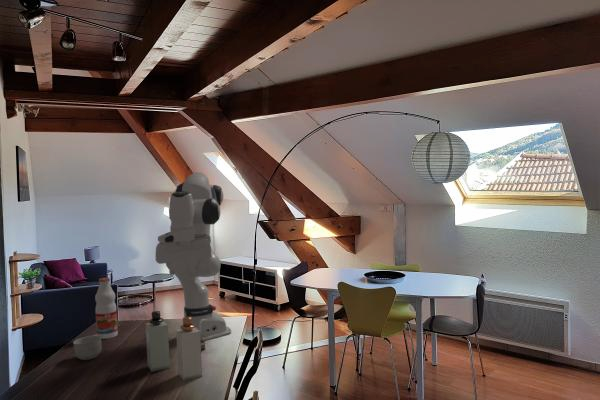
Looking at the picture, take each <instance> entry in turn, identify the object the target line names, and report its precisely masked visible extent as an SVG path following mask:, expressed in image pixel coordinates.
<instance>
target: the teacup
mask: <svg viewBox="0 0 600 400" xmlns="http://www.w3.org/2000/svg"><path fill="white" fill-rule="evenodd" d="M72 344H73V349H74V350H73V351H74V355H75V357H76V358H77V359H79V360H82V361H88V360H89V361H90V360H93V359H95V358H96V357H98V356H99V355H100V354H101V352H102V347H103V346H102V339H101V336H97V334H92V335H87V336H84V337H80V338H77V339H75V340H73V342H72Z"/></svg>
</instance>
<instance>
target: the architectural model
mask: <svg viewBox="0 0 600 400" xmlns="http://www.w3.org/2000/svg"><path fill="white" fill-rule="evenodd" d="M200 342H201V350H204V351H205V350H206V344H207V343H206V340H205V339H203V333H200Z"/></svg>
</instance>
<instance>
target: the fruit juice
mask: <svg viewBox="0 0 600 400" xmlns="http://www.w3.org/2000/svg"><path fill="white" fill-rule="evenodd" d="M110 280H111V278H110V277H102V278H99V279H98V283H99V286H98V288H97V292H96V294H95V296H94V297H95V298H94V300H95V303H96V305H95V311H94V312H95V325H96V327H95V328H96V335H97V336H101V340H108V339H113V338H114V337H117V336H118V334H119V331H118V329H119V328H118V316H117V315H118V314H117V309H118V308H117V304H116V301H115V300H116V293H115V292H114V290H113V288H112V286H111V283H110Z"/></svg>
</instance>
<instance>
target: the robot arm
mask: <svg viewBox="0 0 600 400" xmlns="http://www.w3.org/2000/svg"><path fill="white" fill-rule="evenodd" d="M223 200H224V192H223V188H222V187H221V186H220V185H217V184H213V185H212V184H210V182H209V178H208V177H207V175H206V174H205V173H203V172H198V171H197V172H196V171H195V172H193V173H191V174H190V175H189V176H188V177H187V178H186V179H185V181H183V182H182V183H180V184H178V185H177V186H176V187H175V190H174V192H173V193H171V194H170V198H169V207H168V214H169V215H168V216H169V220H170V227H169V228H170V229H169V230H170V231H169V232H166V233H163V234H161V235H158V236H157V242H158V243H156V244H157V245H156V247H155V262H156V263H157V264H159V265H161V264H163V265H164V264H165V267H167V269H168V271H169V275H170V276H175V277H176V278H177V279H178V282H179V283H180V285H181V287H182V291H183V297H184V298H183V299H184V306H183V318H184V317H192V324H194V325H195V328H197V329H198V330H199V331H200V333H203V339H205V341H209V340H212V339H216V338H220V337H223V336H227V335H230V334H232V329H231V327H229V326H227V323H226V321H225V319H224V317H222V316H221V315H219V314H217V313H216V312H215V311H216V310H217V306H215V305H212V304H210V303H209V301H210V300H209V298H210V297H209V289H208V287H207V286H206V285H205V284H203V282H202V281H201V280H200V278H208V277H213V276H216V275H218V273H219V272H220V270H221V260H220V258H219V257H218V256H217V255H216V254H215V253H214V251H213V248H212V246H211V243H212V241H211V240H212V239H211V236H210V235H211V225H215V224H216V223H217V222H218V221H219V220H220V218H221V204H222V203H223Z"/></svg>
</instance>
